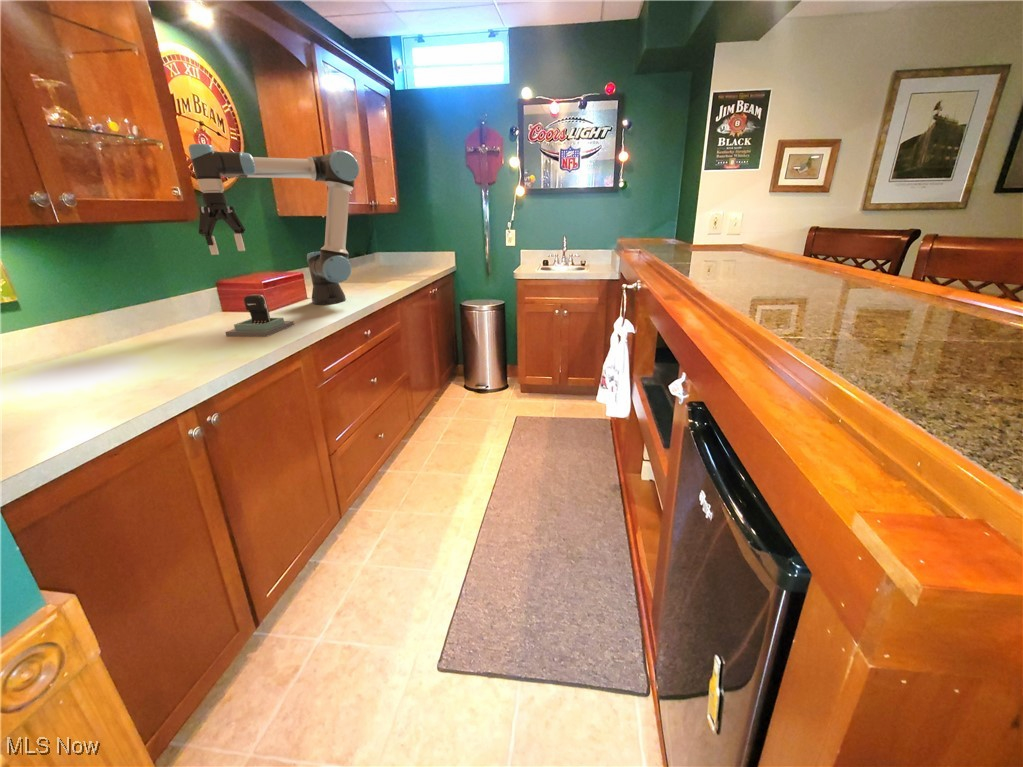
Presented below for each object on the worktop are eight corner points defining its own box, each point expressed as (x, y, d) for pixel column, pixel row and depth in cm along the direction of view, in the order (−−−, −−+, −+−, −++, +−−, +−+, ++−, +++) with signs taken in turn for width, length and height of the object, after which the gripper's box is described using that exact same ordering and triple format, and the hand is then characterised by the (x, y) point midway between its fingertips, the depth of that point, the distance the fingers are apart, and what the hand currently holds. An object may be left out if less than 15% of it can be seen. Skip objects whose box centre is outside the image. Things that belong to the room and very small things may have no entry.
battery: (249, 327, 160) (240, 296, 156) (256, 324, 164) (248, 294, 159) (266, 327, 159) (258, 296, 155) (273, 324, 163) (265, 294, 158)
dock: (257, 324, 170) (254, 315, 169) (294, 324, 168) (292, 315, 166) (226, 336, 156) (223, 326, 154) (266, 336, 153) (264, 326, 152)
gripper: (229, 193, 171) (243, 249, 179) (174, 192, 148) (193, 256, 156) (246, 192, 170) (260, 249, 178) (193, 191, 147) (212, 256, 155)
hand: (229, 252), depth 167 cm, fingers open, 13 cm apart
